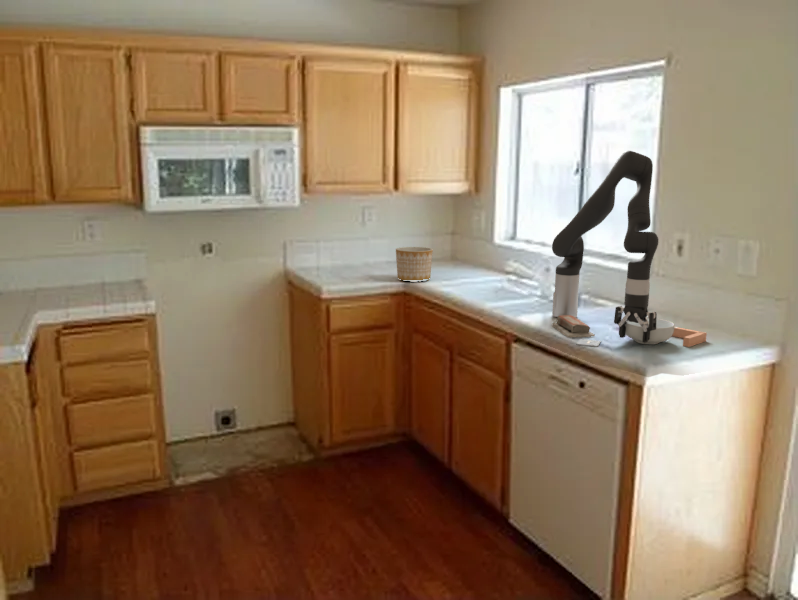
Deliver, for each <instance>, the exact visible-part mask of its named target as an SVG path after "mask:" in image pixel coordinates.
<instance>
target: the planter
mask: <svg viewBox="0 0 798 600" xmlns="http://www.w3.org/2000/svg"><path fill="white" fill-rule="evenodd" d="M433 251H434V249H433V248H431V247H424V246H402V247H397V248H395V259H396V272H397V273H396V276H397V279H398V278H399V279H401V280H423V279H429V278H430V279H431V275H432V264H433V263H432V261H433V253H434V252H433ZM399 279H398V280H399ZM430 279H429V280H430Z"/></svg>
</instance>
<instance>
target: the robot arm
mask: <svg viewBox="0 0 798 600" xmlns="http://www.w3.org/2000/svg"><path fill="white" fill-rule="evenodd" d="M653 168H654V167H653V161H652V159H651V158H650V157H648V156H647V155H644V154H641V153H639V152H636V151H633V150H626V151H624V152H623V153H622V154H621V155H620V156H619V158H618V159H616V162H615V163H614V165H613V166H612V167H611V169H610V170H609V172H608V173H607V175H606V176H605V178H604V180H602V182H601V183H600V184H599V186H598V187H597V188H596V190H595V191H594V192H593V194H591V196H590V197H589V198H588V200H587V201H586V202H585V203H584V204H583V206H581V208H580V210H579V211H578V212H577V213H576V214H575V215H574V217H573V218H572V219H571V221H570V222H568V224H567V225H566V226H565V227H564V228H563V229H562V230H561V231H560V232H559V233H558V234H557V235H555V237H554V239H553V241H552V243H551V244H552V245H551V249H552V253H553V255H554V256H556V257H559V258H563V260H562V261H561V263H560V264H558V265H556V267H555V278H554V279H555V280H554V292H553V294H552V310H551V311H552V315H551V316H552V317H555V318H558V316H561V315H571V316H574V317H576V318H577V317H578V310H579V309H578V308H579V307H578V305H579V290H580V289H579V288H580V286H579V285H580V271H581V268H582V266H583V259H584V252H585V251H584V250H585V249H584V248H585V243H584V239H583V237H582V236H583V235H585V234H586V233H587V232H590V231H591V230H592V229H594V228H596V227H597V226H599V225H600V224H601V223H602V222H603V221H604V220H605V219H606V218H607V217H608V216H609V215H610V213H611V212H612V211H613V210H614V207H615V202H616V188H617V186H618V185H619V183H620V182H621V180H622V179H627V180H630V181H633V182H635V183H636V192H634V194H633V196H632V197H631V198H630V200H629V202H628V206H627V230H626V233H625V236H624V241H623V248H624V250H625V251H626V252H628V253H629V254H644V255H643V256H642V257H641V258H639V259H634V260H630V261H629V262H628V264H627V273H626V275H627V276H626V281H625V289H624V290H625V291H624V301H623V302H624V303H623V304H624V306H622V305H619V306H616V307H615V311H614V316H613V317H614V319H613V324H615V325H617V326H618V336H619V338H622V339H623V338H625V337H626V334H625V332H626V326H625V325H626V323H628V322H635V323H639V324H640V326H642V328H643V330H644V331H643V342H644V343H646V342H648V341H649V339H650V331H652V330H656V319H657V318H658V317H657V312H656V311H652V312H651V311H649V310H648V308H649V302H650V301H649V299H650V286H651V285H650V284H651V283H650V278H651V266H652V262H653V260H654V256H655V254H656V251H657V249H658V246H659V237H658V234H656V232H653V231H645V230H647V229H649V228H650V227H651V211H650V209H651V207H650V199H651V198H650V197H651V187H652V182H653V181H652V179H653V172H654V171H653ZM623 313H624V316H623ZM646 317H648V318H649V322H648V320H647V319H646ZM648 323H649V324H648Z"/></svg>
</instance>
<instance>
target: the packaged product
mask: <svg viewBox="0 0 798 600" xmlns="http://www.w3.org/2000/svg"><path fill="white" fill-rule="evenodd" d="M556 318H557V319H556V322H552V324H551V325H552V327H553V328H555V329H556V330H557V331H559V332H560V333H561V334H563V335H564V336H565V337H567V338H592V337H591V336H595V335H596V334H594V333H593V332H592V331H590V330H591V327H590V325H588V324H586V323H585V322H583V321H582V320H580V319H579V318H577V317H574V316H571V315H561V316H558V317H556Z"/></svg>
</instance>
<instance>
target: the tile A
mask: <svg viewBox="0 0 798 600" xmlns="http://www.w3.org/2000/svg"><path fill="white" fill-rule="evenodd" d="M600 342H601V343H602V341H601V340H594V339H585V338H579V339H578V341H577V342H576V345H577V346H584V347H592V348H593V347H594V348H598V347H599V345H600V344H601V343H600Z"/></svg>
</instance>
